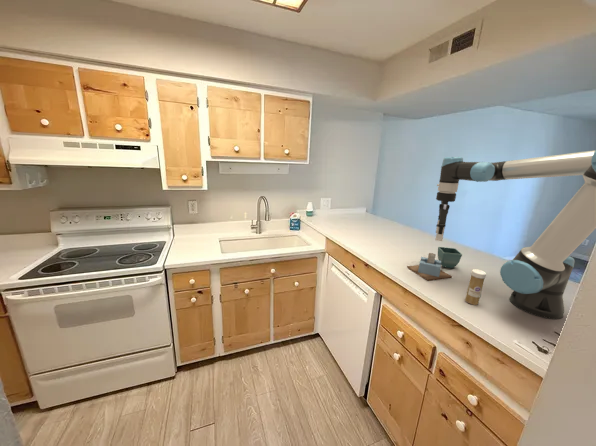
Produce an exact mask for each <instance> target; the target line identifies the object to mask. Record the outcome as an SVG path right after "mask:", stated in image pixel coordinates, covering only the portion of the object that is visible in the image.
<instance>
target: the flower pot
mask: <svg viewBox="0 0 596 446" xmlns="http://www.w3.org/2000/svg"><path fill="white" fill-rule="evenodd" d="M462 257H463V253H461V252H460V251H459V249H457V248H454V247H445V246H438V247H437V258H438V259H437V260H440V261H441V267H442V268H449V269H453V268H455V267H457V265H458V264H459V263H460V261H461V258H462Z"/></svg>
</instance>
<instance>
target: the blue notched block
mask: <svg viewBox="0 0 596 446" xmlns="http://www.w3.org/2000/svg"><path fill="white" fill-rule="evenodd" d="M419 260H420V261H419V264H418V265H419V270H418V272H420V273H424V274H428V275H432V276H437V277H439V275H440V270H441V269H442V265H441V261H440V260H438V259H435V261H434V264H430V263H427V260H428V257H424V256H421V257H420V259H419Z"/></svg>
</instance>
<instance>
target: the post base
mask: <svg viewBox="0 0 596 446" xmlns="http://www.w3.org/2000/svg"><path fill="white" fill-rule="evenodd" d="M436 255H437V254H436V253H432V252H429V253H428V256H427V258H428V260H427V263H430V264H434V261H435V260H436ZM407 269H408V270H410V271H411V272H413V273H414V274H416V275H417V276H419V277H421V278H422V279H423V280H425V281H426V282H431V281H440V280H448V279H453V275H451V274H449V273H447V272H445V271H444V270H440V275H439V277H437V276H432V275H428V274H424V273H420V272H418V270H419V264H417V265H416V264H415V265H407Z"/></svg>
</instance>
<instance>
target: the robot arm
mask: <svg viewBox="0 0 596 446" xmlns="http://www.w3.org/2000/svg"><path fill="white" fill-rule="evenodd" d="M439 176H440V177H439V180H438V181H439V182H438V183H436V187H437V193H436V198H435V199H436V201H439V202H440V203H439V206H438V209H439V210H438V216H437V217H438V218H437V222H436V223H437V224H436V226H435V227H436V229H435V234H436V235H435V241H438V242H443V241H444V240H443V239H444V233H445V229H446V225H447V224H446V223H447V219H448V218H447V216H448V214H449V210H450V204H449V203H454V202H456V198H457V192H458V188H459V185H460V184H459V182H460V181H470V182H477V183H478V182H479V183H481V182H482V183H484V182H485V183H486V182H489V181H492V182H495V181H496V182H497V181H506V180H508V181H509V180H520V179H521V180H522V179H523V180H524V179H536V178H537V179H538V178H540V179H541V178H552V177H553V178H555V177H570V176H571V177H573V176H582V178H583V180H584V183H583V184H582V186H581V187H580V188H579V189H577V191H576V192H575V194H574V195H573V196H572V198H570V200H569V201H568V202H567V203H566V205H565V206H564V207H563V208H562V209H561V210H560V211H559V213H558V214H557V215H556V216H555V218H554V219H553V220H552V221H551V222H550V224H549V225H548V226H547V227H546V228H545V230H543V232H542V233H541V234H540V235H539V236H538V238H537V239H536V240H535V241H534V242H533V243H532V245H531V246H526V247H522V248H521V249H520V250H519V252H518V253H517V254H516V255H515V257H514V258H513V259H512V260H510V259H509V260H508V261H506V262H505V263H503V264H502V265H501V267H500V270H499V273H500V277H501V281H502V282H503V283H504V284H505V285H506V286H507V287H508V288H509V289H510V290H512V292H511V293H510V297H509V301H510V302H511V303H512V305H514V306H515V307H516V308H519V310H522V311H523V312H526V313H529V314H531V315H534V316H537V317H541V318H544V319H549V320H550V319H551V320H559V319H562V318H563V316H564V313H565V303H564V298H563V296H564V293H565V290H566V288H567V286H568V285H567V284H568V282H569V280H570V277H571V275H572V271H573V269H574V268H575V263H576V261H575V258H574V257H572V256H570V255H571V254H572V253H573V252H575V250H576V249H577V248H578V247H579V246H580V245H581V244H582V243H584V241H585V240H586V239H587V238H588V237H589V236H590V235H591V234H592V233H593V232H594V231H595V230H596V149H595V150H587V151H586V150H585V151H579V152H578V151H577V152H571V153H564V154H556V155H555V154H554V155H547V156H546V155H544V156H538V157H537V156H536V157H530V158H523V159H515V160H506V161H505V160H504V161H496V162H486V161H464V158H463V157H460V156H445V157H444V158H443V160H442V165H441V167H440V175H439Z"/></svg>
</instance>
